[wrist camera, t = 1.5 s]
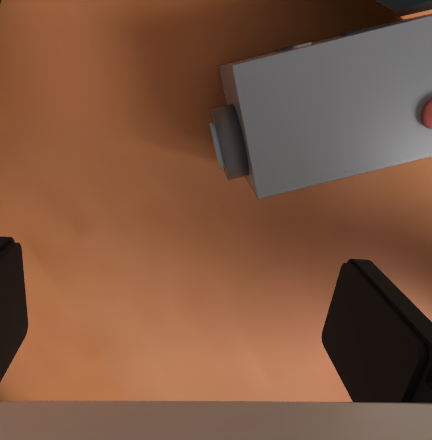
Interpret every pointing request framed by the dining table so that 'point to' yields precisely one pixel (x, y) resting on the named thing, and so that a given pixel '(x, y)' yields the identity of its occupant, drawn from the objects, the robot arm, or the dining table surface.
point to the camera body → (327, 108)
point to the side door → (406, 6)
